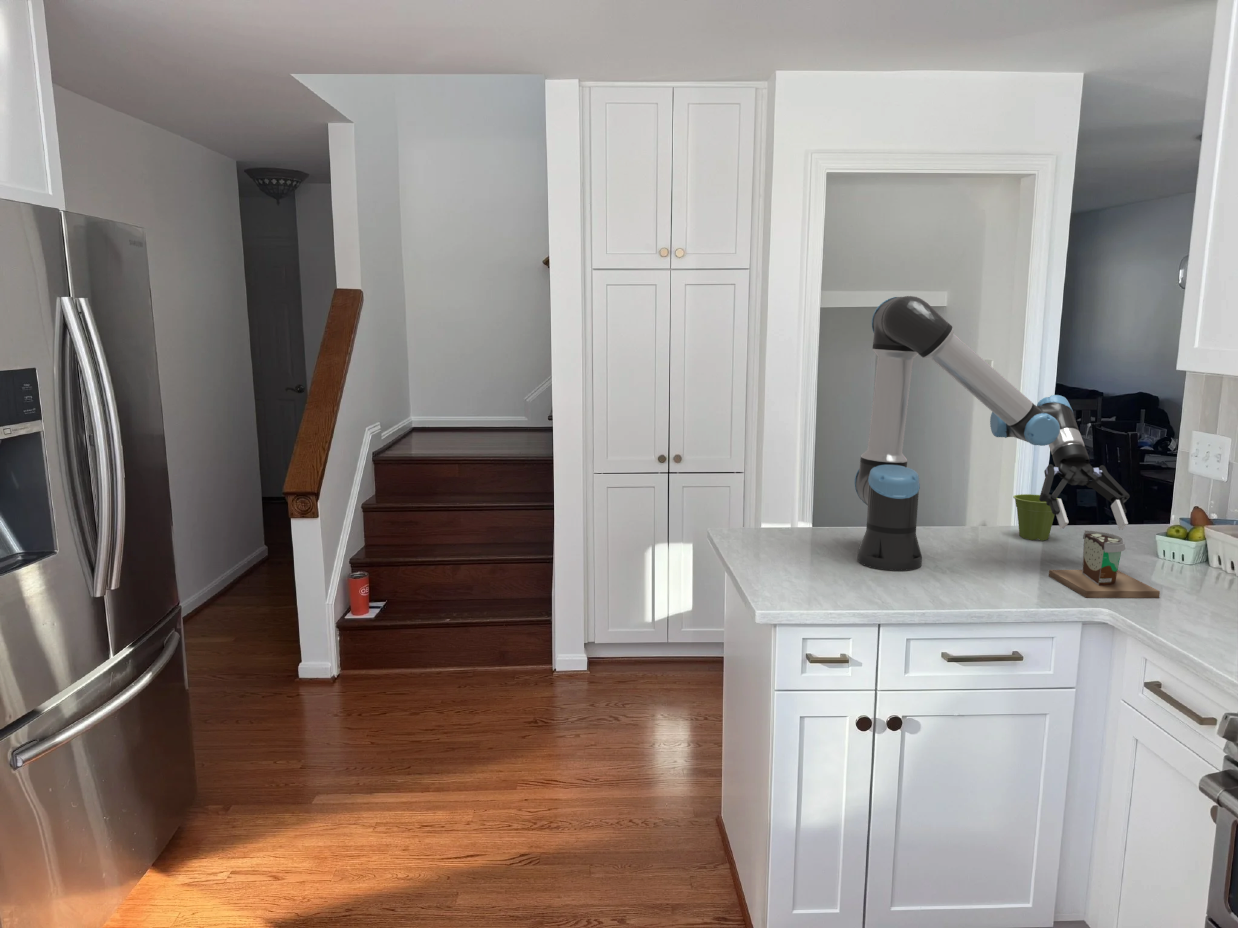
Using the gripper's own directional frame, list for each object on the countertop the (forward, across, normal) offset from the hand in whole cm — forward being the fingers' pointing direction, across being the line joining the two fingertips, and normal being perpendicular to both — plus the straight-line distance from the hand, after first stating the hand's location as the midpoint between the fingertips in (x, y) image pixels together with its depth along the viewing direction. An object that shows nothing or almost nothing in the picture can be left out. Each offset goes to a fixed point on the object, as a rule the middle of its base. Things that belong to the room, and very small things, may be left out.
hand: (1094, 526), depth 198 cm
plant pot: (-17, -5, -36) cm, 40 cm away
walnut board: (+14, +1, -4) cm, 14 cm away
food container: (+12, 0, -3) cm, 13 cm away
